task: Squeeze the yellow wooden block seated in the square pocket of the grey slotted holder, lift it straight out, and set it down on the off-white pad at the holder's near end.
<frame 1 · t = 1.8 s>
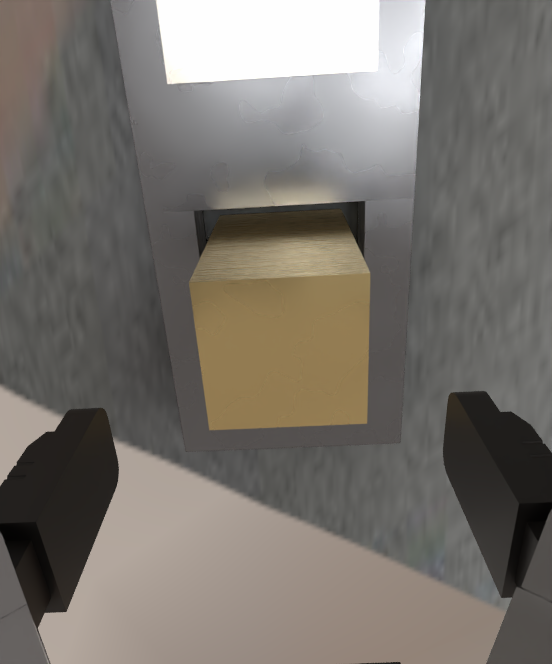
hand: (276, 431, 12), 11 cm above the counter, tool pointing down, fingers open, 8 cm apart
yellow wooden block: (283, 269, 23), resting in grey slotted holder
grey slotted holder: (277, 174, 21), on the counter
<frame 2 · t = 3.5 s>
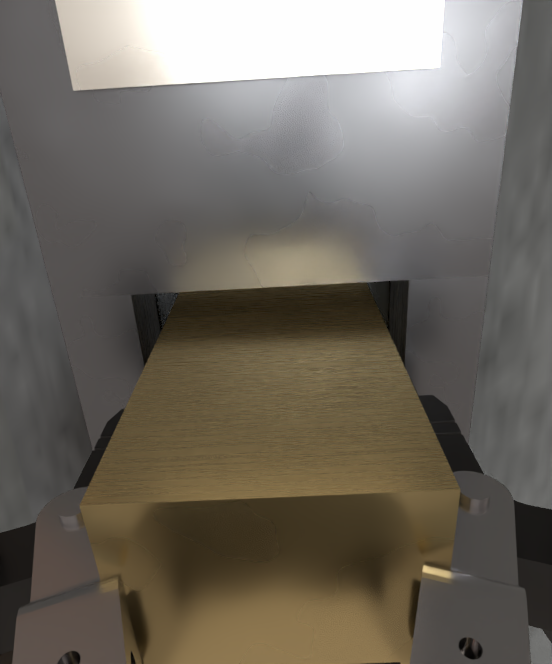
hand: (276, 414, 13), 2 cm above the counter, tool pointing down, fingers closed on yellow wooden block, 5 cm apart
yellow wooden block: (277, 366, 15), resting in grey slotted holder, touching gripper
grey slotted holder: (268, 231, 13), on the counter
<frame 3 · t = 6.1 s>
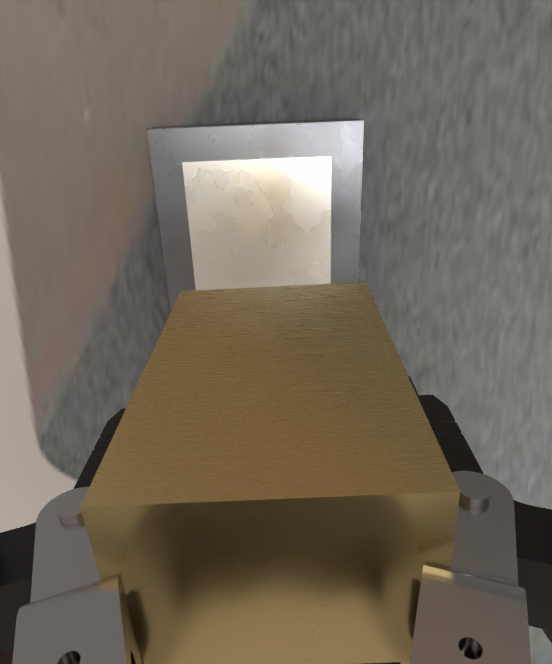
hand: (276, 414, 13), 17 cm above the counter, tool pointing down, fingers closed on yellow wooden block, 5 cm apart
yellow wooden block: (277, 367, 15), point 14 cm above the counter, touching gripper
grey slotted holder: (266, 341, 31), on the counter
when the fingers open (6 cm above the counter, at t = 8.9 s): yellow wooden block drops 1 cm, resting on grey slotted holder.
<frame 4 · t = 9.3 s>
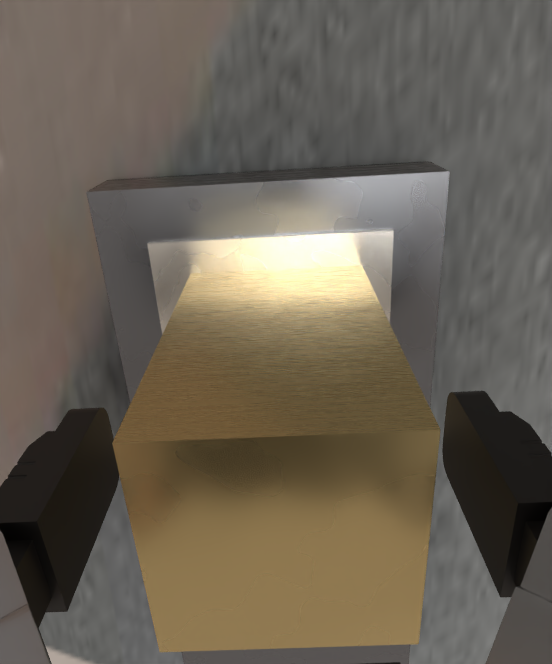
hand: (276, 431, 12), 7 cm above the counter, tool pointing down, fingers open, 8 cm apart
yellow wooden block: (279, 346, 16), point 2 cm above the counter, touching grey slotted holder
grey slotted holder: (286, 475, 21), on the counter
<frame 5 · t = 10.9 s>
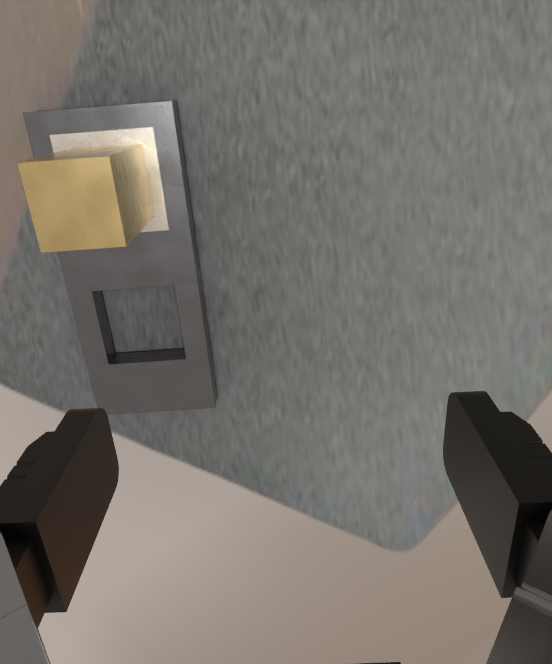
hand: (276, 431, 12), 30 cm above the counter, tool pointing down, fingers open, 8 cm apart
yellow wooden block: (112, 183, 36), point 2 cm above the counter, touching grey slotted holder
grey slotted holder: (136, 270, 41), on the counter
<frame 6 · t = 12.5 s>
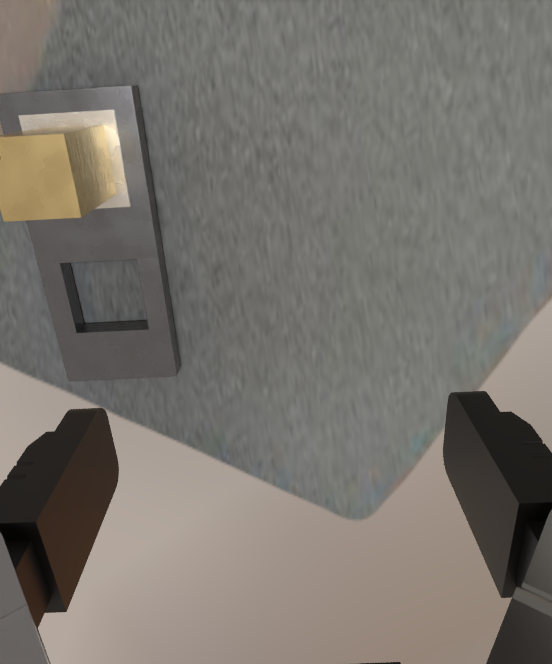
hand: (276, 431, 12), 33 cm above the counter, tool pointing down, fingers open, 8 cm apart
yellow wooden block: (77, 162, 39), point 2 cm above the counter, touching grey slotted holder
grey slotted holder: (103, 244, 44), on the counter
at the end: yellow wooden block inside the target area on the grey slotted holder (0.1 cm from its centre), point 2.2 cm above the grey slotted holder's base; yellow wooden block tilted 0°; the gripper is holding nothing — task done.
